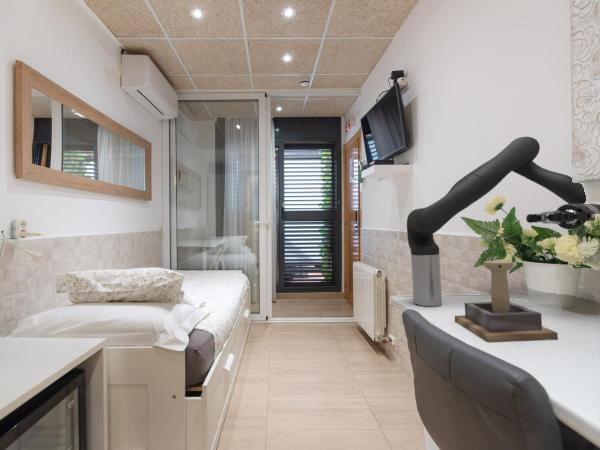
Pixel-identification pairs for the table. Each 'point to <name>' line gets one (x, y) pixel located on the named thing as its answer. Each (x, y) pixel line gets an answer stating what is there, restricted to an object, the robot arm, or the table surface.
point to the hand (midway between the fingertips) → (544, 218)
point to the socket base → (504, 323)
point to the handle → (499, 285)
